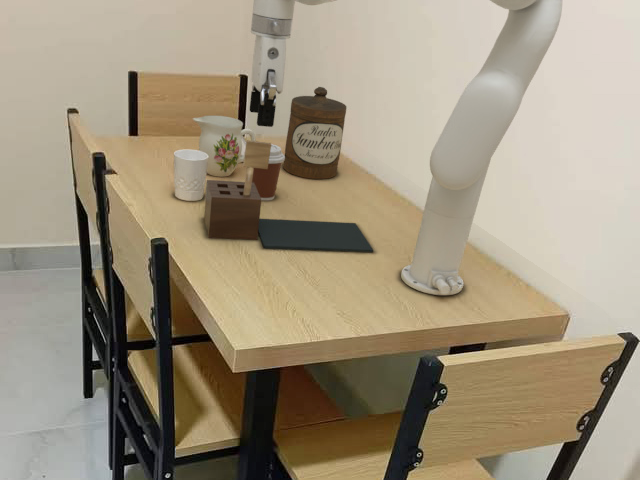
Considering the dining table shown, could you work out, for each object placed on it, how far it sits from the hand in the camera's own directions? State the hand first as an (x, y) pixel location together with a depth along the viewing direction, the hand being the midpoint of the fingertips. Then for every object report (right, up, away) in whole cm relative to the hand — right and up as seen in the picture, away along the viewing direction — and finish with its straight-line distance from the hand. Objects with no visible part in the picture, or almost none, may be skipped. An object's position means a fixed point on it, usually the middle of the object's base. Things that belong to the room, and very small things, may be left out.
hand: (260, 118), depth 147 cm
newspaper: (-11, +12, +63) cm, 65 cm away
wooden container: (+12, +4, +56) cm, 57 cm away
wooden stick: (-5, -21, +12) cm, 25 cm away
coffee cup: (-1, -8, +34) cm, 35 cm away
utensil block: (-7, -20, +14) cm, 25 cm away
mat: (+11, -21, +16) cm, 28 cm away
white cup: (-18, -9, +28) cm, 34 cm away
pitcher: (-11, +1, +46) cm, 47 cm away
